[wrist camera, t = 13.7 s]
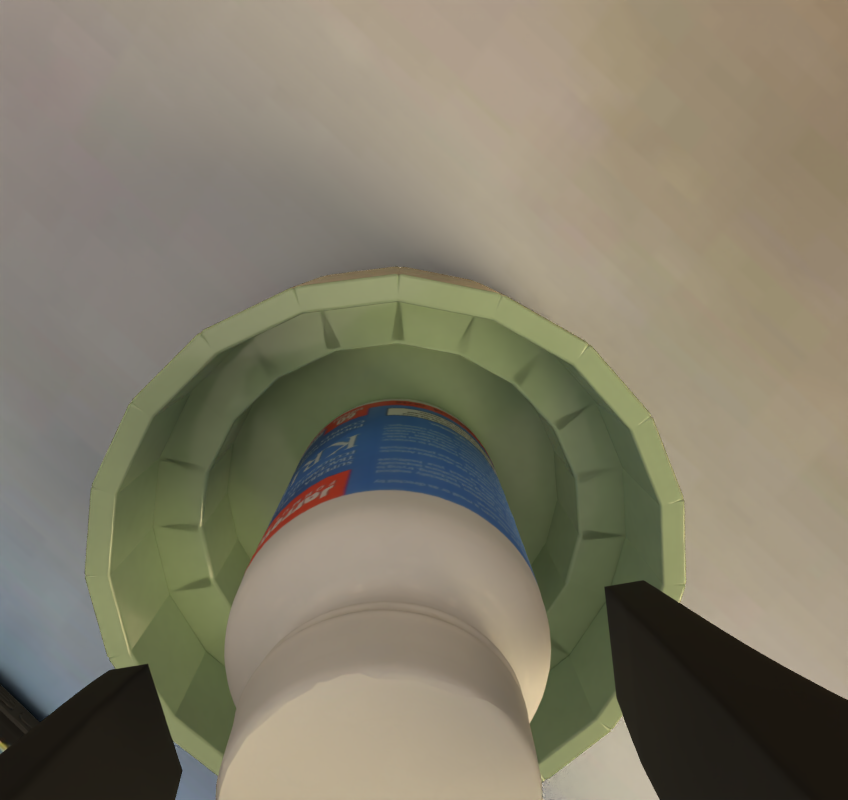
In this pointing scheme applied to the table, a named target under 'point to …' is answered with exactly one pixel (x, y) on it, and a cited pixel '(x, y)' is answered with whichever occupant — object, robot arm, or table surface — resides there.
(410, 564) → the pill bottle
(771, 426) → the table surface
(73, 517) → the table surface
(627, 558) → the green pet bowl
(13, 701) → the smartphone
